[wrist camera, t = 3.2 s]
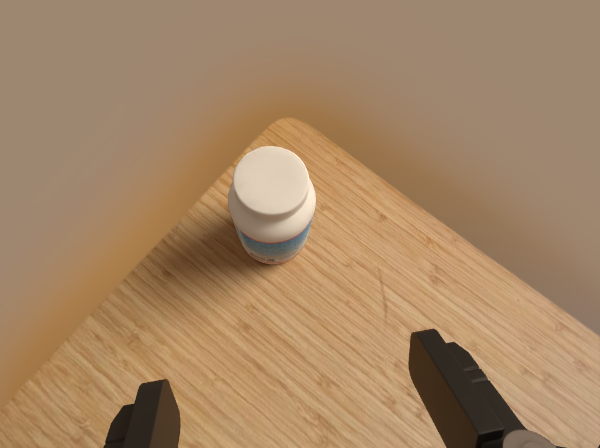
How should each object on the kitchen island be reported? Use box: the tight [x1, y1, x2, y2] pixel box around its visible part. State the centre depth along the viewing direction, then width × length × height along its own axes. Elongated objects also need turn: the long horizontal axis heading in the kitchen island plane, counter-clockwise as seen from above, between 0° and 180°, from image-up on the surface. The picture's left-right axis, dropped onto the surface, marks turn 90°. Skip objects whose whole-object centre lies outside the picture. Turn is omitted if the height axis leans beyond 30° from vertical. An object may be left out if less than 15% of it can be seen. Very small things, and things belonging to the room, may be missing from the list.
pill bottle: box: [228, 146, 316, 264], centre depth 27 cm, size 6×6×11 cm
